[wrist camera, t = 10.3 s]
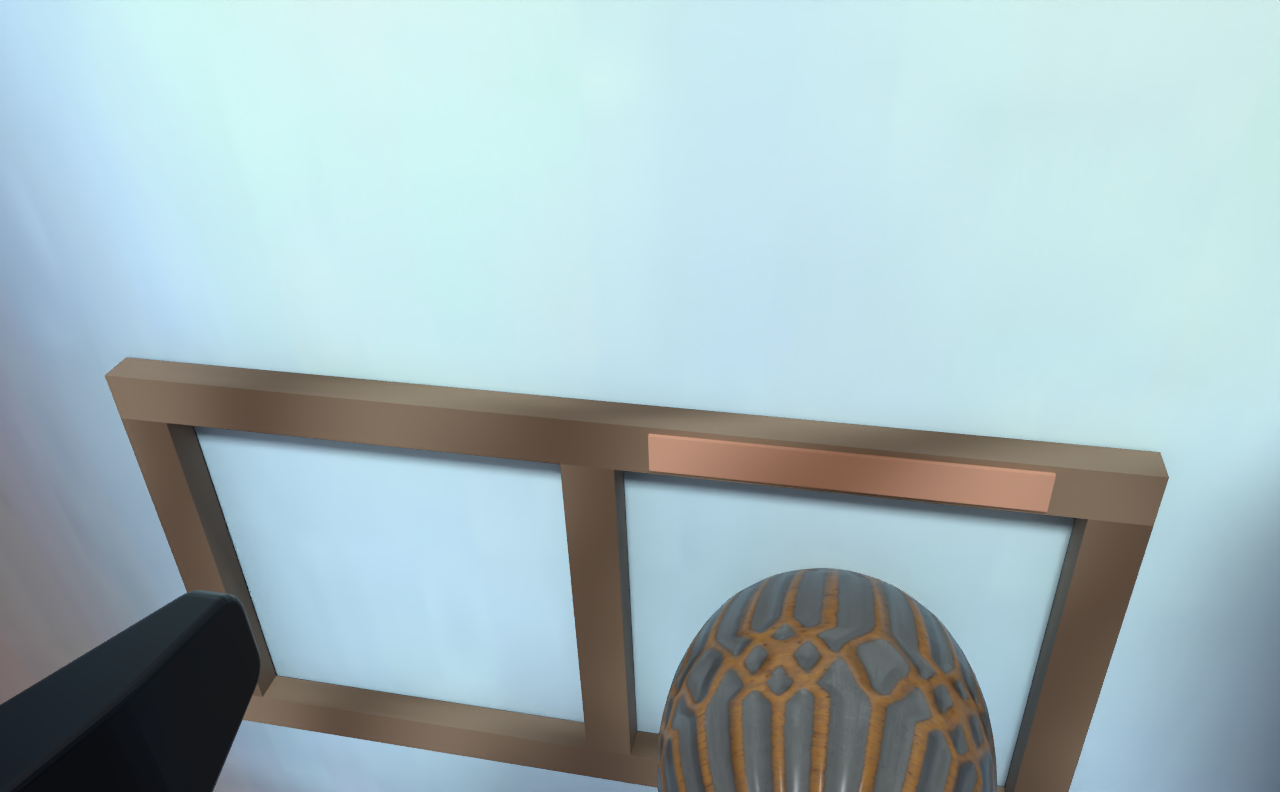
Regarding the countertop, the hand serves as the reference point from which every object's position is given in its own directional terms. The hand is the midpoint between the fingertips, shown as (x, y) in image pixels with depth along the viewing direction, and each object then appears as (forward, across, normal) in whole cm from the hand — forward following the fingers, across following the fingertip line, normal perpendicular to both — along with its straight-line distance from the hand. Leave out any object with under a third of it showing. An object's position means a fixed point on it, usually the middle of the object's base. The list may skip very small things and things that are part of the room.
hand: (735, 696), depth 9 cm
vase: (+12, -1, +12) cm, 17 cm away
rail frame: (+12, +5, +12) cm, 17 cm away
